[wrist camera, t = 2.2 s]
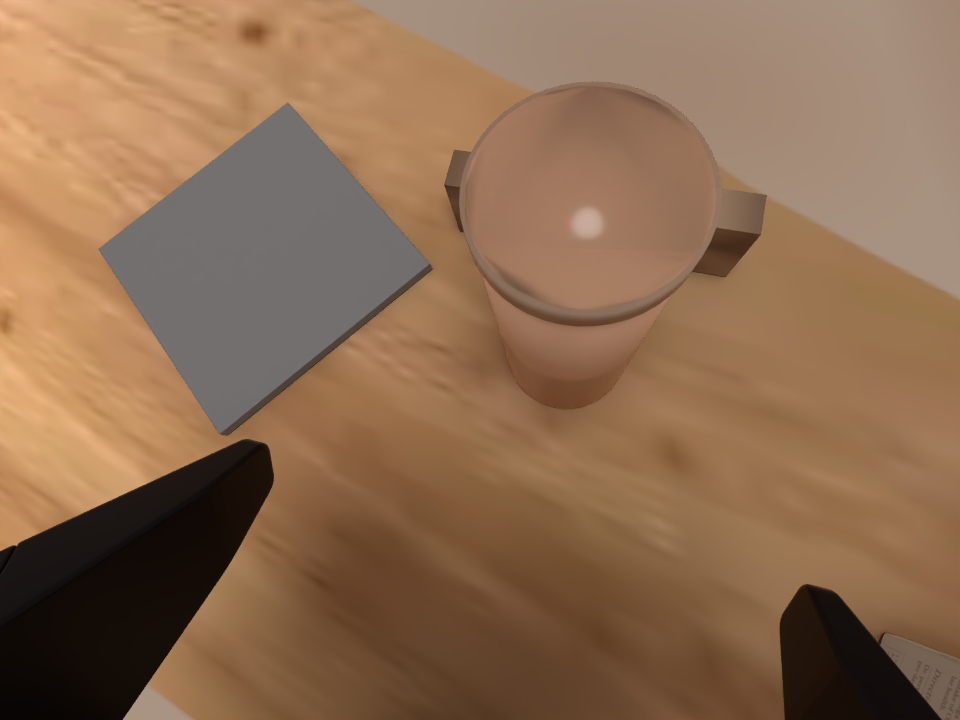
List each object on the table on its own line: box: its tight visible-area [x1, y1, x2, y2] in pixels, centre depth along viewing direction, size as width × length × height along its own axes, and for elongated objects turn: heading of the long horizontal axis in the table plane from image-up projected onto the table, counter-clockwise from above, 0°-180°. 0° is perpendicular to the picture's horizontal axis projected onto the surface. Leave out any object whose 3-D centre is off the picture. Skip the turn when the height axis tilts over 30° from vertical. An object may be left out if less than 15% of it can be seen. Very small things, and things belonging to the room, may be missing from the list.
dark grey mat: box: [99, 103, 432, 435], centre depth 26 cm, size 12×12×1 cm
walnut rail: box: [444, 150, 767, 277], centre depth 23 cm, size 12×2×4 cm, turn 76°
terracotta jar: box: [459, 82, 722, 409], centre depth 17 cm, size 5×5×13 cm
